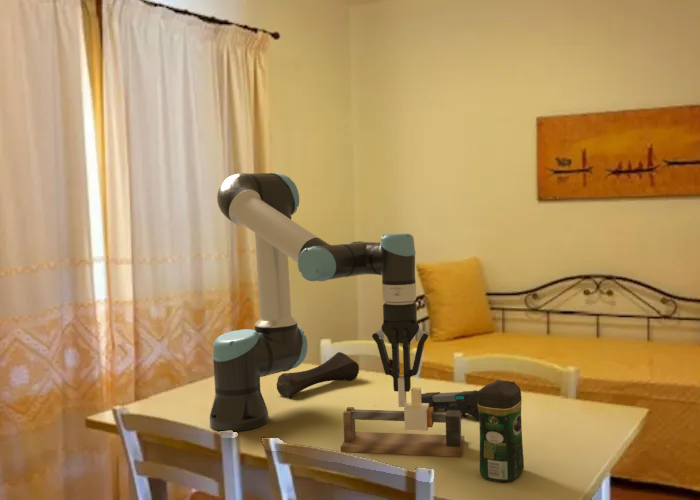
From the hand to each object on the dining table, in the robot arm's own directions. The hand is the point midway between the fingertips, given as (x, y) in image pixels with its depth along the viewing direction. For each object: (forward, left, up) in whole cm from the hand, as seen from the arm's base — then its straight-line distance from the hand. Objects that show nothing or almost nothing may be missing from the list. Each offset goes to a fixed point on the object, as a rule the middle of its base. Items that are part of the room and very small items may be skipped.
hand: (402, 405), depth 153 cm
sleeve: (+3, 0, -5) cm, 6 cm away
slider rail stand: (0, 0, -10) cm, 10 cm away
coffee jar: (+22, -13, -10) cm, 27 cm away
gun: (+8, +25, -10) cm, 28 cm away
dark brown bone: (-33, +47, -10) cm, 58 cm away
